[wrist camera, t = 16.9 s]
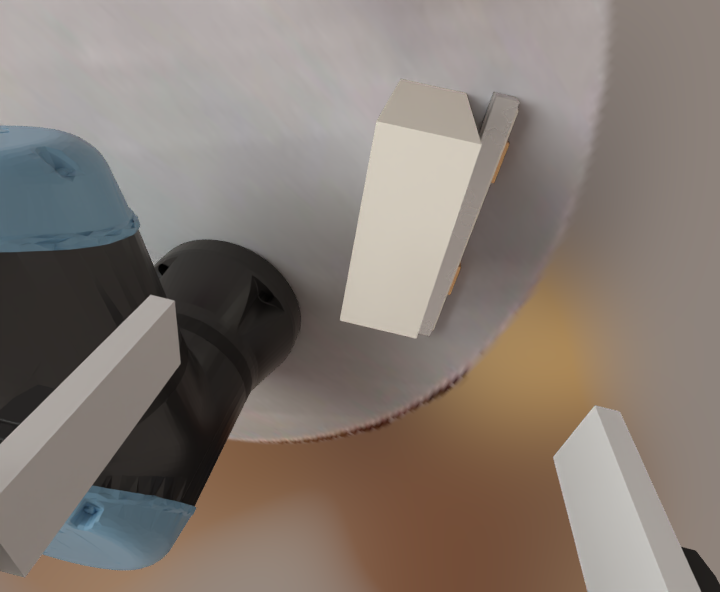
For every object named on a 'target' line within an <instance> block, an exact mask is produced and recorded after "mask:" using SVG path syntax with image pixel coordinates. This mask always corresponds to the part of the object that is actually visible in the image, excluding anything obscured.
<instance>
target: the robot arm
mask: <svg viewBox="0 0 720 592" xmlns="http://www.w3.org/2000/svg"><path fill="white" fill-rule="evenodd" d="M139 227H140V222H139V220H138V217H137V216H136V215H135V214H134V212H133V211H132V210H131V209H130V208H129V207H128V205H127V203H126V201H125V199H124V196H123V194H122V192H121V190H120V188H119V186H118V184H117V182H116V180H115V178H114V176H113V174H112V172H111V170H110V167H109V165H108V163H107V162H106V160H105V159H104V157H103V156H102V155H101V153H100V152H99V151H98V150H97V149H96V148H95V147H93V146H92V145H91V144H90V143H88V142H86V141H85V140H83V139H81V138H80V137H77V136H75V135H73V134H70V133H67V132H63V131H59V130H55V129H48V128H40V127H28V126H0V571H2V572H6V573H10V574H13V575H17V576H21V577H26V576H27V574H28V573H29V571H30V570H31V568H32V567H33V566H34V564H35V563H36V562H37V560H38V559H39V558H40V556H41V555H42V554H43V555H47V556H50V557H53V558H57V559H60V560H64V561H68V562H72V563H76V564H80V565H85V566H90V567H97V568H103V569H111V570H136V569H141V568H144V567H147V566H150V565H153V564H154V563H156V562H158V561H159V560H161V559H162V558H163V557H164V556H165V555H166V554H167V553H168V552H169V551H170V549H171V548H172V546H173V544H174V543H175V541H176V540H177V538H178V536H179V534H180V533H181V531H182V530H183V528H184V527H185V525H186V523H187V522H188V520H189V518H190V517H191V516H192V515H193V514H194V512H195V509H196V507H194V506H195V504H196V502H197V500H198V498H199V496H200V494H201V492H202V490H203V488H204V486H205V484H206V482H207V480H208V478H209V476H210V473H211V472H212V470H213V467H214V465H215V463H216V461H217V459H218V457H219V455H220V453H221V451H222V449H223V447H224V445H225V443H226V441H227V439H228V437H229V435H230V433H231V431H232V429H233V427H234V424H235V422H236V420H237V418H238V416H239V414H240V412H241V410H242V408H243V406H244V404H245V402H246V400H247V398H248V396H249V394H250V392H251V391H252V390H253V389H254V388H255V387H256V386H257V385H258V384H259V383H260V382H262V381H263V380H264V379H265V378H266V377H267V376H268V375H269V374H270V373H271V372H272V371H274V370H275V369H276V368H277V367H278V366H279V365H280V364H281V363H282V362H283V361H284V360H285V359H286V357H287V356H288V354H289V353H290V351H291V349H292V347H293V345H294V343H295V340H296V338H297V336H298V333H299V329H300V310H299V306H298V302H297V300H296V297H295V295H294V293H293V291H292V289H291V287H290V286H289V284H288V283H287V282H286V280H285V279H284V278H283V276H282V275H281V274H280V273H279V272H278V271H277V270H276V269H275V268H274V267H273V266H272V265H270V264H269V263H268V262H267V261H265V260H264V259H263V258H261V257H260V256H258V255H256V254H255V253H253V252H251V251H249V250H247V249H245V248H242V247H240V246H237V245H234V244H231V243H228V242H223V241H217V240H196V241H190V242H187V243H183V244H181V245H179V246H177V247H175V248H173V249H172V250H171V251H169V252H168V253H167V254H166V255H165V256H164V257H163V258H162V259H160V260H159V261H158V262H157V263H156V264H155V265H153V263H152V261H151V258H150V256H149V253H148V251H147V249H146V246H145V244H144V241H143V239H142V237H141V234H140V232H139ZM553 459H554V462H555V466H556V470H557V474H558V478H559V482H560V486H561V490H562V494H563V498H564V501H565V505H566V509H567V513H568V517H569V521H570V525H571V529H572V533H573V537H574V540H575V545H576V548H577V552H578V556H579V560H580V564H581V568H582V572H583V576H584V580H585V584H586V587H587V591H588V592H720V584H719V582H718V580H717V578H716V577H715V575H714V574H713V572H712V571H711V570H710V568H709V567H708V566H707V565H706V563H705V562H704V561H703V559H702V558H701V557H700V556H699V554H698V553H697V552H696V551H695V550H691V549H687V548H683V547H681V546H680V544H679V542H678V539H677V537H676V535H675V533H674V530H673V528H672V526H671V524H670V522H669V520H668V517H667V515H666V513H665V510H664V508H663V506H662V504H661V502H660V499H659V497H658V495H657V493H656V491H655V488H654V486H653V484H652V482H651V480H650V477H649V475H648V473H647V471H646V468H645V466H644V464H643V462H642V459H641V457H640V455H639V453H638V451H637V449H636V446H635V444H634V442H633V440H632V437H631V435H630V433H629V431H628V428H627V426H626V424H625V422H624V420H623V417H622V415H621V413H620V412H619V411H616V410H612V409H608V408H603V407H599V406H594V407H593V408H592V410H591V411H590V412H589V413H588V415H587V416H586V417H585V418H584V419H583V421H582V422H581V423H580V424H579V426H578V427H577V428H576V429H575V431H574V432H573V433H572V434H571V436H570V437H569V438H568V439H567V441H566V442H565V443H564V444H563V446H562V447H561V448H560V449H559V450H558V452H557V453H556V454H555V455H554V457H553Z"/></svg>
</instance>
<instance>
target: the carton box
mask: <svg viewBox="0 0 720 592" xmlns="http://www.w3.org/2000/svg"><path fill="white" fill-rule="evenodd" d="M481 145H482V144H481V140H480V137H479V134H478V130H477V127H476V124H475V121H474V117H473V114H472V111H471V107H470V104H469V101H468V97H467V94H466V93H463V92H458V91H454V90H449V89H445V88H440V87H436V86H431V85H426V84H422V83H417V82H413V81H408V80H404V79H400V81H399V83H398V85H397V86H396V88H395V90H394V92H393V93H392V95H391V97H390V99H389V100H388V102H387V104H386V106H385V107H384V109H383V111H382V112H381V114H380V116H379V118H378V119H377V121H376V127H375V132H374V138H373V143H372V148H371V154H370V159H369V165H368V170H367V175H366V181H365V186H364V192H363V197H362V202H361V208H360V213H359V219H358V224H357V229H356V235H355V240H354V246H353V251H352V257H351V262H350V267H349V273H348V278H347V284H346V289H345V294H344V300H343V305H342V311H341V316H340V321H344V322H348V323H353V324H357V325H361V326H365V327H369V328H374V329H378V330H382V331H386V332H390V333H395V334H399V335H403V336H407V337H411V338H417V335H418V332H419V329H420V326H421V323H422V320H423V317H424V314H425V311H426V308H427V305H428V302H429V299H430V296H431V293H432V290H433V288H434V285H435V282H436V279H437V276H438V273H439V270H440V267H441V264H442V261H443V258H444V255H445V252H446V249H447V246H448V243H449V240H450V237H451V234H452V231H453V228H454V225H455V222H456V219H457V216H458V213H459V210H460V208H461V205H462V202H463V199H464V196H465V193H466V190H467V187H468V184H469V181H470V178H471V175H472V172H473V169H474V166H475V163H476V160H477V157H478V154H479V151H480V148H481Z"/></svg>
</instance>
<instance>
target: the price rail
mask: <svg viewBox="0 0 720 592" xmlns="http://www.w3.org/2000/svg"><path fill="white" fill-rule="evenodd" d="M519 103H520V101H519V100H518V99H517V98H516V97H514V96H510V95H505V94H501V93H497V92H493V95H492V97H491V100H490V103H489V106H488V109H487V112H486V115H485V118H484V121H483V124H482V126H481V129H480V132H479V137H480V140H481V144H482V145H481V148H480V151H479V154H478V157H477V160H476V163H475V166H474V169H473V172H472V175H471V178H470V181H469V184H468V187H467V190H466V193H465V196H464V199H463V202H462V205H461V208H460V210H459V213H458V216H457V219H456V222H455V225H454V228H453V231H452V234H451V237H450V240H449V243H448V246H447V249H446V252H445V255H444V258H443V261H442V264H441V267H440V270H439V273H438V276H437V279H436V282H435V285H434V288H433V290H432V293H431V296H430V299H429V302H428V305H427V308H426V311H425V314H424V317H423V320H422V323H421V326H420V329H419V332H418V334H422V335H426V336H430V334H431V332H432V330H433V331H434V328H435V326H436V323H437V320H438V318H439V315H440V313H441V310H442V307H443V305H444V302H445V300H446V297H447V295H448V294H449V295H450V294H451V292H452V289H453V287H454V284H455V282H456V279H457V276H458V274H459V271H460V269H461V258H462V256H463V253H464V251H465V248H466V246H467V243H468V240H469V238H470V235H471V233H472V230H473V227H474V225H475V222H476V220H477V217H478V215H479V212H480V209H481V207H482V204H483V202H484V199H485V197H486V194H487V191H488V189H489V186H490V184H491V183H494V182H495V180H496V177H497V175H498V172H499V169H500V167H501V164H502V162H503V159H504V157H505V154H506V152H507V149H508V147H509V144H510V143H509V141H508V137H509V135H510V132H511V129H512V127H513V124H514V122H515V119H516V117H517V114H518V111H519V109H518V105H519Z"/></svg>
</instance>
